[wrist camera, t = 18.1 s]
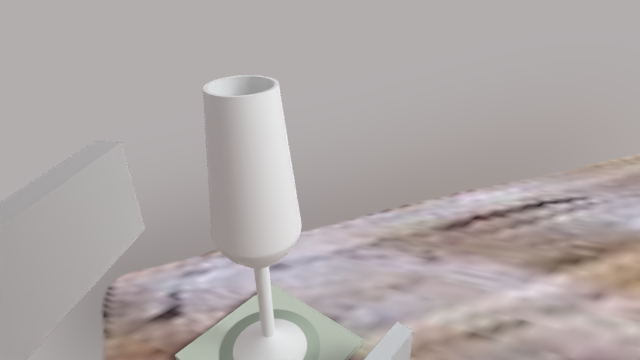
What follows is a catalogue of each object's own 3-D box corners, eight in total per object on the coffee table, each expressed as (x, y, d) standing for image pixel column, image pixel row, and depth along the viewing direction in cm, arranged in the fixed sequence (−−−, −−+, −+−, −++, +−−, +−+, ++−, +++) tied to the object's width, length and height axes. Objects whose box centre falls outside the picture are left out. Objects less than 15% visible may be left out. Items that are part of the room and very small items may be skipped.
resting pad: (271, 287, 47) (271, 282, 46) (363, 343, 40) (363, 338, 39) (176, 359, 39) (174, 354, 38) (269, 446, 32) (268, 440, 31)
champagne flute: (322, 343, 39) (316, 82, 27) (267, 395, 35) (231, 111, 23) (272, 307, 43) (248, 66, 31) (217, 349, 38) (165, 88, 27)
